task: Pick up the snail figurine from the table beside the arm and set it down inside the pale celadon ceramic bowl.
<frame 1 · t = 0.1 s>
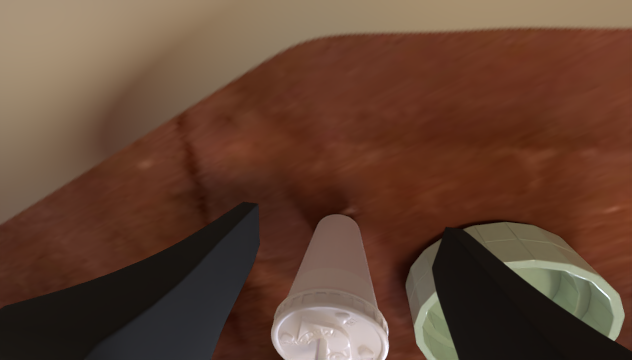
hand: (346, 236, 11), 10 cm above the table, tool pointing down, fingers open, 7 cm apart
bowl: (484, 282, 24), on the table
smoothie: (337, 231, 23), on the table
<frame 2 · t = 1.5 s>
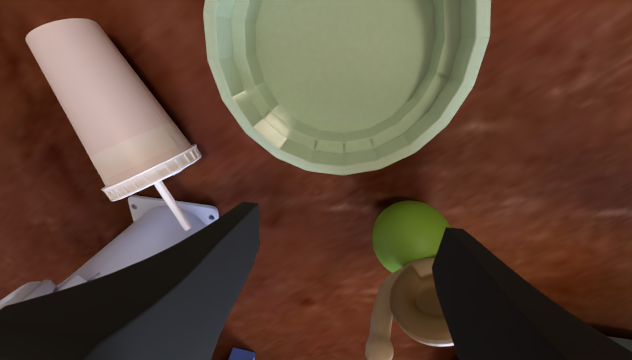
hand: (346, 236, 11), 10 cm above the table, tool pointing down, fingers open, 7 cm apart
bowl: (342, 46, 17), on the table
smoothie: (62, 30, 16), point 3 cm above the table, touching arm
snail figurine: (398, 217, 22), on the table
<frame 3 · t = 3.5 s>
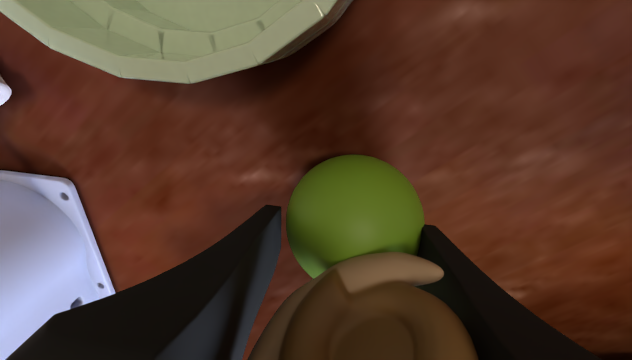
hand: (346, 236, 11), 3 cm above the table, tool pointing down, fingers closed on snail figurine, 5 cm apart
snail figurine: (342, 190, 14), on the table, touching gripper
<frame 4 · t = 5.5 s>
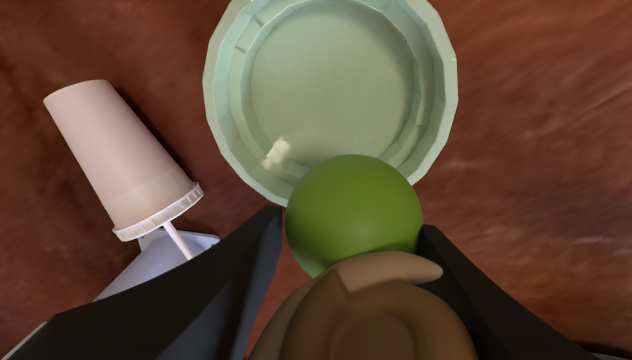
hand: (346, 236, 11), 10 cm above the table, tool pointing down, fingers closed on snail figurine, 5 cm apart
bowl: (330, 96, 19), on the table
smoothie: (75, 89, 18), point 3 cm above the table, touching arm
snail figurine: (341, 190, 14), point 7 cm above the table, touching gripper
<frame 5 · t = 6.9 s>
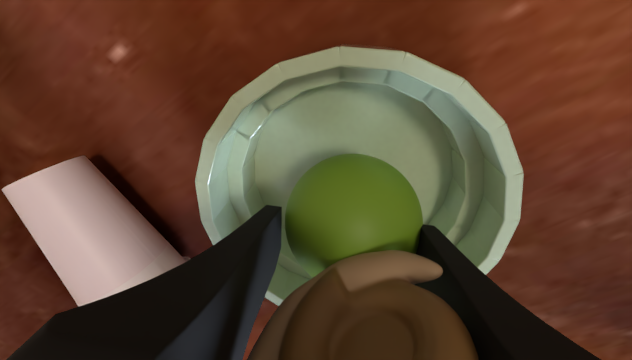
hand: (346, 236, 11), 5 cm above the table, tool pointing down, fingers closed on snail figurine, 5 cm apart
bowl: (348, 174, 16), on the table
smoothie: (43, 168, 15), point 3 cm above the table, touching arm
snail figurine: (341, 190, 14), point 2 cm above the table, touching gripper
when the fingers open (4 cm above the table, at t = 8.0 s): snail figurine stays where it is, resting on bowl.
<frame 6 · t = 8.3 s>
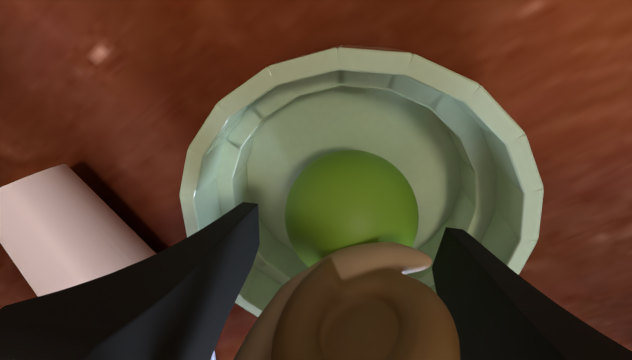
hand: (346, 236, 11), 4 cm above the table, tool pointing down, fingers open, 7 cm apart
bowl: (348, 184, 15), on the table
smoothie: (20, 178, 14), point 3 cm above the table, touching arm
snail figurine: (341, 186, 14), resting on bowl
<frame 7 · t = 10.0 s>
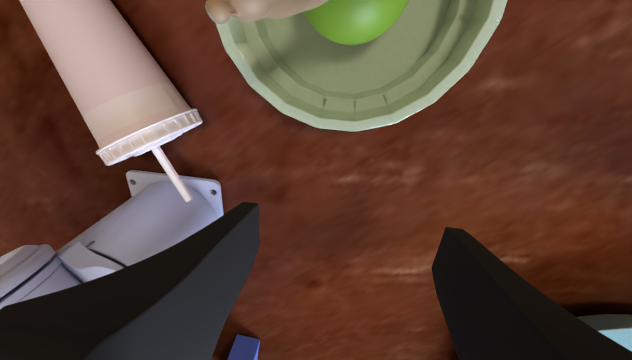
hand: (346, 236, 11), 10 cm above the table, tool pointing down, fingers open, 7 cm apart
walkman: (247, 353, 34), on the table
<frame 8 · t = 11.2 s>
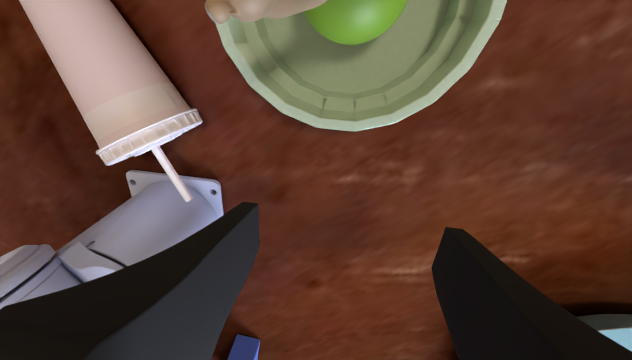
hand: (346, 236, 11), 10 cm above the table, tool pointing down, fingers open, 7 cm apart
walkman: (247, 353, 34), on the table
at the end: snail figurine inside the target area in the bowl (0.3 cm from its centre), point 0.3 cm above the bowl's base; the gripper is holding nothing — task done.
